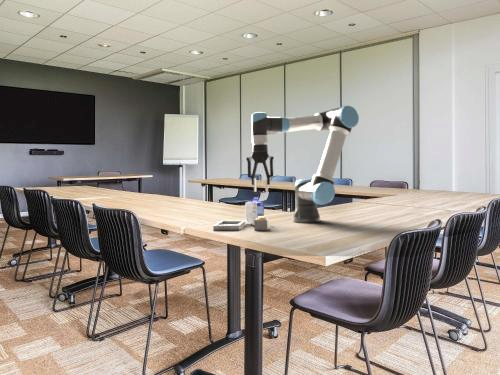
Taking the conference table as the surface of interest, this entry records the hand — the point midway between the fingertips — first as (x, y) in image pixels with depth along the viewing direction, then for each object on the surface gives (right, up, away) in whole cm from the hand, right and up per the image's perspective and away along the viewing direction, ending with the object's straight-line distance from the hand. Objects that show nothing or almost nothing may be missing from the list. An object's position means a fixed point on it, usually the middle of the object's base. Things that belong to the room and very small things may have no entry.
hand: (261, 191), depth 201 cm
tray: (-16, -19, +9) cm, 26 cm away
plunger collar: (+1, -19, +1) cm, 19 cm away
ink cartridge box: (-3, -18, +19) cm, 26 cm away
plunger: (0, -18, +1) cm, 18 cm away
